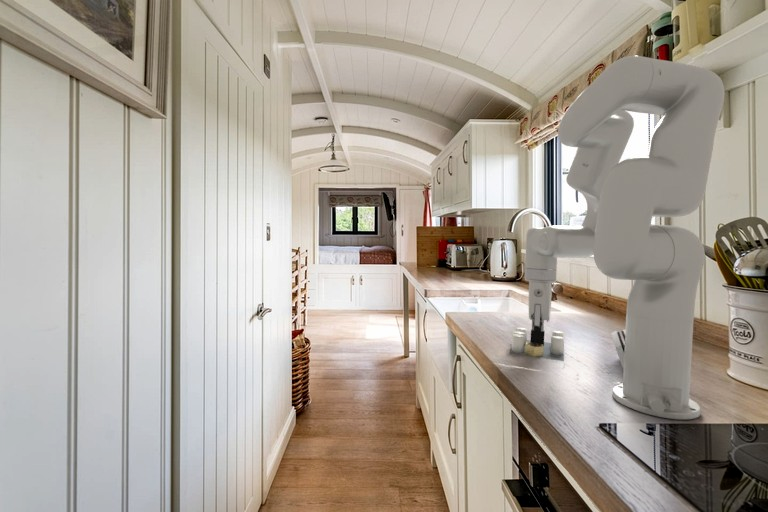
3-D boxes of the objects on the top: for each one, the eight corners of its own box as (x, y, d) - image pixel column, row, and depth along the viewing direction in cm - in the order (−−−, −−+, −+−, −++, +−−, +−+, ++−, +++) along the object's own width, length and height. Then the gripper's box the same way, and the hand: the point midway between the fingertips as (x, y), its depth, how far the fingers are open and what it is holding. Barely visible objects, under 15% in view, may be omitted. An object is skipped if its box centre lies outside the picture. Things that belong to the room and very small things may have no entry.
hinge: (656, 385, 75) (638, 337, 76) (630, 388, 77) (613, 341, 79) (646, 363, 90) (631, 322, 91) (623, 366, 92) (609, 326, 93)
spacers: (563, 359, 90) (564, 343, 89) (510, 351, 95) (510, 336, 95) (563, 346, 101) (564, 331, 101) (516, 340, 107) (516, 326, 106)
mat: (563, 362, 89) (563, 360, 89) (509, 354, 94) (509, 352, 94) (563, 346, 103) (563, 344, 103) (516, 340, 108) (516, 338, 108)
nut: (542, 357, 91) (542, 347, 91) (524, 355, 92) (525, 345, 92) (543, 352, 95) (543, 343, 95) (526, 350, 96) (526, 340, 96)
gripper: (555, 279, 88) (552, 355, 89) (556, 274, 101) (553, 341, 102) (521, 276, 91) (518, 351, 92) (527, 272, 104) (524, 337, 105)
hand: (537, 345), depth 97 cm, fingers closed
